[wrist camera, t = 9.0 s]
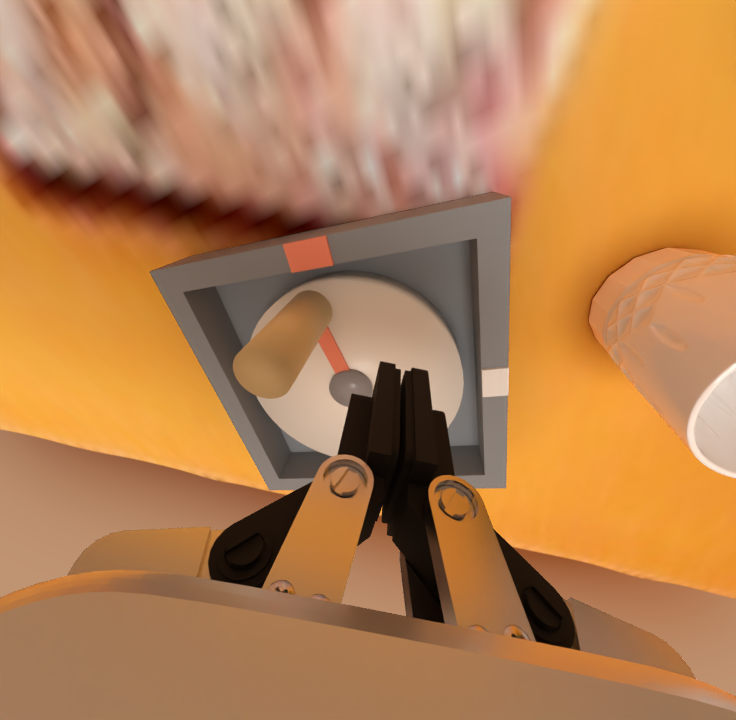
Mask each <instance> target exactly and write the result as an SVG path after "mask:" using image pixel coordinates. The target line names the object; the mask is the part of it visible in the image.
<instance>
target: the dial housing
mask: <svg viewBox="0 0 736 720" xmlns="http://www.w3.org/2000/svg"><path fill="white" fill-rule="evenodd" d="M510 238H511V197H509V196H506V195H503V194H499V193H496V192H490V193H485V194H480V195H476V196H471V197H466V198H462V199H457V200H452V201H448V202H443V203H438V204H433V205H429V206H424V207H419V208H415V209H410V210H405V211H400V212H396V213H391V214H386V215H382V216H377V217H372V218H367V219H363V220H358V221H353V222H349V223H344V224H339V225H335V226H330V227H325V228H320V229H316V230H311V231H306V232H302V233H297V234H292V235H287V236H283V237H278V238H273V239H269V240H264V241H259V242H255V243H250V244H245V245H240V246H236V247H231V248H226V249H222V250H217V251H212V252H207V253H203V254H198V255H193V256H190V257H187V258H184V259H182V260H179V261H176V262H174V263H171V264H168V265H166V266H163V267H160V268H158V269H155V270H152V271H150V274H151V276H152V278H153V279H154V281H155V283H156V285H157V287H158V288H159V290H160V292H161V294H162V296H163V298H164V299H165V301H166V303H167V305H168V307H169V308H170V310H171V312H172V314H173V316H174V318H175V319H176V321H177V323H178V325H179V327H180V328H181V330H182V332H183V334H184V336H185V337H186V339H187V341H188V343H189V345H190V347H191V348H192V350H193V352H194V354H195V356H196V357H197V359H198V361H199V363H200V365H201V366H202V368H203V370H204V372H205V374H206V376H207V377H208V379H209V381H210V383H211V385H212V386H213V388H214V390H215V392H216V394H217V396H218V397H219V399H220V401H221V403H222V405H223V406H224V408H225V410H226V412H227V414H228V415H229V417H230V419H231V421H232V423H233V425H234V426H235V428H236V430H237V432H238V434H239V435H240V437H241V439H242V441H243V443H244V444H245V446H246V448H247V450H248V452H249V454H250V455H251V457H252V459H253V461H254V463H255V464H256V466H257V468H258V470H259V472H260V474H261V475H262V477H263V479H264V481H265V483H266V484H267V486H268V488H269V490H297V489H299V488H301V487H303V486H305V485H306V484H308V483H310V482H312V481H313V480H314V478H315V476H316V474H317V472H318V469H319V468H320V466H321V465H322V464H323V462H324V461H326V460H327V459H329V458H330V457H332V456H329V455H326V454H323V453H320V452H318V451H316V450H313V449H311V448H309V447H307V446H305V445H304V444H302V443H300V442H298V441H297V440H295V439H294V438H293V437H291V436H290V435H288V434H287V433H286V432H285V431H283V430H282V429H281V428H280V427H279V426H278V425H277V424H276V423H275V422H274V421H273V420H272V419H271V418H270V416H269V415H268V414H267V413H266V411H265V410H264V409H263V407H262V405H261V404H260V402H259V401H258V399H257V396H256V395H254V394H252V393H250V392H249V391H247V390H246V389H245V388H244V387H243V386H242V385H241V384H240V383H239V382H238V380H237V379H236V377H235V374H234V371H233V361H234V358H235V356H236V355H237V354H238V353H239V352H240V351H241V350H242V349H243V348H244V347H245V346H246V345H247V344H248V343H249V342H250V340H251V337H252V333H253V331H254V329H255V327H256V325H257V323H258V322H259V320H260V319H261V318H262V316H263V315H264V313H265V312H266V311H267V310H268V309H269V308H270V307H271V306H272V305H273V304H274V303H275V302H276V301H278V300H279V299H280V298H281V297H282V296H283V295H284V294H285V293H286V292H288V291H289V290H290V289H292V288H293V287H295V286H296V285H298V284H300V283H302V282H304V281H306V280H308V279H310V278H313V277H316V276H319V275H322V274H326V273H332V272H338V271H359V272H369V273H373V274H377V275H382V276H385V277H388V278H391V279H393V280H396V281H399V282H401V283H403V284H404V285H406V286H408V287H410V288H412V289H414V290H415V291H416V292H418V293H419V294H421V295H422V296H423V297H425V298H426V299H427V300H428V301H429V302H430V303H431V304H432V305H433V306H434V307H435V308H436V309H437V310H438V311H439V312H440V314H441V315H442V316H443V317H444V319H445V320H446V322H447V323H448V325H449V327H450V329H451V330H452V332H453V335H454V337H455V340H456V343H457V346H458V351H459V355H460V360H461V365H462V369H463V380H464V386H463V396H462V400H461V403H460V407H459V409H458V411H457V414H456V416H455V418H454V419H453V421H452V422H451V424H450V425H449V427H448V428H447V429H448V435H449V441H450V448H451V454H452V460H453V466H454V473H455V476H456V477H459V478H461V479H463V480H465V481H466V482H468V483H469V484H470V485H472V486H473V487H474V488H506V464H507V407H508V395H509V367H508V351H509V294H510Z"/></svg>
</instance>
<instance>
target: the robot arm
mask: <svg viewBox="0 0 736 720" xmlns="http://www.w3.org/2000/svg"><path fill="white" fill-rule="evenodd" d="M381 508H382V523H387V524H388V526H387V535H389V536H393V539H392V541H393V542H394V543H395V545H396V546H397V547H398V549H399V550H400V568H401V577H402V585H403V594H404V601H405V610H406V616H402V615H397V614H392V613H386V612H381V611H376V610H371V609H366V608H361V607H356V606H350V605H345V604H341V602H342V598H343V594H344V590H345V587H346V583H347V580H348V576H349V572H350V569H351V565H352V562H353V558H354V555H355V551H356V547H357V546H358V545H359V544H361V543H362V542H363V541H365V540H366V539H367V538H369V537H370V535H371V533H372V529H373V527H374V524H375V521H377V519H378V517H379V514H380V511H381ZM0 720H736V696H734V695H732V694H730V693H728V692H725V691H723V690H721V689H719V688H717V687H714V686H712V685H709V684H706V683H704V682H701V681H699V680H696V678H695V677H694V675H693V673H692V671H691V669H690V668H689V666H688V665H687V664H686V662H685V661H684V660H683V659H682V657H681V656H680V655H679V654H678V653H677V652H676V651H675V650H674V649H673V648H672V647H671V646H670V645H669V644H668V643H667V642H665V641H663V640H662V639H660V638H658V637H657V636H655V635H654V634H652V633H649V632H647V631H644V630H642V629H640V628H638V627H636V626H633V625H631V624H629V623H627V622H624V621H622V620H620V619H617V618H616V617H613V616H611V615H609V614H607V613H604V612H602V611H600V610H598V609H595V608H593V607H591V606H589V605H586V604H584V603H582V602H580V601H577V600H575V599H573V598H570V599H568V600H565V599H563V598H562V597H561V596H560V595H559V593H558V592H557V591H556V590H555V589H554V588H553V587H552V586H551V585H550V584H549V583H548V582H547V581H546V580H545V579H544V578H543V577H542V576H541V575H540V574H539V573H538V572H537V571H536V570H535V569H534V568H533V567H532V566H531V565H530V564H529V563H528V562H527V561H526V560H525V559H524V558H523V557H522V556H521V555H520V554H519V553H518V552H517V551H515V549H513V548H512V547H511V546H510V545H509V544H508V543H507V542H506V541H505V540H504V539H503V538H502V537H501V536H500V535H499V534H498V533H497V532H496V531H495V530H494V529H493V526H492V524H491V521H490V518H489V516H488V513H487V511H486V508H485V505H484V503H483V500H482V498H481V497H480V495H479V493H478V492H477V491H476V489H475V488H474V487H473V486H472V485H470V484H469V483H468V482H466V481H465V480H463V479H461V478H459V477H456V476H455V473H454V466H453V460H452V454H451V448H450V441H449V435H448V429H447V422H446V416H445V413H444V412H442V411H437V410H432V401H431V392H430V383H429V373H428V371H427V370H423V369H418V368H413V367H412V368H411V371H407V370H405V372H404V375H403V379H402V382H401V369H397V368H396V364H393V363H388V362H383V361H380V364H379V368H378V372H377V376H376V381H375V385H374V389H373V393H372V397H368V396H363V395H358V394H353V393H352V394H351V398H350V402H349V407H348V411H347V415H346V419H345V424H344V428H343V432H342V437H341V441H340V445H339V450H338V454H337V455H336V456H333V457H330V458H329V459H327V460H326V461H324V462H323V464H322V465H321V466H320V468H319V469H318V472H317V474H316V476H315V478H314V480H313V481H312V482H310V483H308V484H306V485H305V486H303V487H301V488H299V489H297V490H295V491H293V492H292V493H290V494H288V495H286V496H284V497H282V498H281V499H279V500H277V501H275V502H273V503H271V504H269V505H268V506H266V507H264V508H262V509H260V510H258V511H257V512H255V513H253V514H251V515H250V516H247V517H245V518H244V519H242V520H240V521H238V522H236V523H234V524H233V525H231V526H230V527H228V528H227V529H226V530H211V528H210V527H191V528H169V529H147V530H126V531H120V532H115V533H110V534H108V535H106V536H104V537H102V538H100V539H98V540H96V541H95V542H94V543H93V544H91V545H90V546H89V547H88V548H86V549H85V550H84V551H83V552H82V554H81V555H80V556H79V557H78V559H77V560H76V561H75V563H74V564H73V566H72V568H71V570H70V571H69V573H68V575H67V576H64V577H60V578H57V579H53V580H49V581H45V582H41V583H38V584H35V585H32V586H29V587H26V588H23V589H20V590H17V591H14V592H12V593H10V594H8V595H5V596H3V597H0Z"/></svg>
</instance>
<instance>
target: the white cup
mask: <svg viewBox="0 0 736 720" xmlns="http://www.w3.org/2000/svg"><path fill="white" fill-rule="evenodd" d="M589 324H590V326H591V329H592V331H593V333H594V335H595V338H596V340H597V341H598V342H599V343H600V344H601V345H602V347H603V348H604V349H605V350H606V351H607V352H608V353H609V355H610V356H611V358H612V359H613V361H614V362H615V363H616V365H617V366H618V367H619V369H620V370H621V371H622V372H623V373H624V374H625V375H626V376H627V378H628V379H629V380H630V382H631V383H632V384H633V386H634V387H635V388H636V389H637V390H638V392H639V393H640V394H641V395H642V396H643V397H644V398H645V400H646V401H647V402H648V403H649V404H650V405H651V406H652V408H653V409H654V410H655V411H656V412H657V413H658V414H659V415H660V417H661V418H662V419H663V420H664V421H665V422H666V423H667V425H668V426H669V427H670V428H671V429H672V430H673V431H674V433H675V434H676V435H677V436H678V437H679V438H680V440H681V441H682V442H683V443H684V444H685V445H686V446H687V448H688V449H689V450H690V451H691V452H692V453H693V455H694V456H695V457H696V458H697V459H698V460H699V461H700V462H701V463H702V464H704V465H705V466H707V467H708V468H710V469H712V470H714V471H716V472H718V473H720V474H723V475H726V476H729V477H733V478H736V256H735V255H728V254H721V255H720V254H716V253H712V252H707V251H703V250H698V249H684V248H670V247H667V248H664V249H661V250H658V251H654V252H651V253H648V254H645V255H642V256H638V257H636V258H634V259H632V260H631V261H630V262H628V263H627V264H625V265H624V266H623V267H621V268H620V269H618V270H617V271H616V272H614V273H613V274H611V275H610V276H609V277H608V278H607V279H606V281H605V282H604V284H603V285H602V286H601V288H600V289H599V291H598V292H597V293H596V295H595V296H594V298H593V299H592V305H591V310H590V315H589Z"/></svg>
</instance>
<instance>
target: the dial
mask: <svg viewBox="0 0 736 720" xmlns="http://www.w3.org/2000/svg"><path fill="white" fill-rule="evenodd" d="M380 361H383V362H388V363H393V364H396V368H397V369H401V382H402V379H403V375H404V372H405V370H407V371H411V368H412V367H413V368H418V369H423V370H427V371H428V373H429V383H430V392H431V401H432V410H437V411H442V412H444V413H445V416H446V422H447V428H448V427H449V425H450V424H451V422H452V421H453V419H454V418H455V416H456V414H457V411H458V409H459V407H460V403H461V400H462V396H463V386H464V380H463V369H462V365H461V360H460V355H459V351H458V346H457V343H456V340H455V337H454V335H453V332H452V330H451V329H450V327H449V325H448V323H447V322H446V320H445V319H444V317H443V316H442V315H441V314H440V312H439V311H438V310H437V309H436V308H435V307H434V306H433V305H432V304H431V303H430V302H429V301H428V300H427V299H426V298H425V297H423V296H422V295H421V294H419V293H418V292H416V291H415V290H414V289H412V288H410V287H408V286H406V285H404V284H403V283H401V282H399V281H396V280H393V279H391V278H388V277H385V276H382V275H377V274H373V273H369V272H359V271H338V272H332V273H326V274H322V275H319V276H316V277H313V278H310V279H308V280H306V281H304V282H302V283H300V284H298V285H296V286H295V287H293V288H292V289H290V290H289V291H288V292H286V293H285V294H284V295H283V296H282V297H281V298H280V299H279V300H278V301H276V302H275V303H274V304H273V305H272V306H271V307H270V308H269V309H268V310H267V311H266V312H265V313H264V315H263V316H262V318H261V319H260V320H259V322H258V323H257V325H256V327H255V329H254V331H253V333H252V337H251V340H250V342H249V343H248V344H247V345H246V346H245V347H244V348H243V349H242V350H241V351H240V352H239V353H238V354H237V355H236V356H235V358H234V361H233V371H234V374H235V377H236V379H237V380H238V382H239V383H240V384H241V385H242V386H243V387H244V388H245V389H246V390H247V391H249V392H250V393H252V394H254V395H256V396H257V399H258V401H259V402H260V404H261V405H262V407H263V409H264V410H265V411H266V413H267V414H268V415H269V416H270V418H271V419H272V420H273V421H274V422H275V423H276V424H277V425H278V426H279V427H280V428H281V429H282V430H283V431H285V432H286V433H287V434H288V435H290V436H291V437H293V438H294V439H295V440H297V441H298V442H300V443H302V444H304V445H305V446H307V447H309V448H311V449H313V450H316V451H318V452H320V453H323V454H326V455H329V456H332V457H333V456H336V455H337V454H338V450H339V445H340V441H341V437H342V432H343V428H344V424H345V419H346V415H347V411H348V407H349V402H350V398H351V394H352V393H353V394H358V395H363V396H368V397H372V393H373V389H374V385H375V381H376V376H377V372H378V368H379V364H380Z"/></svg>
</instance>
